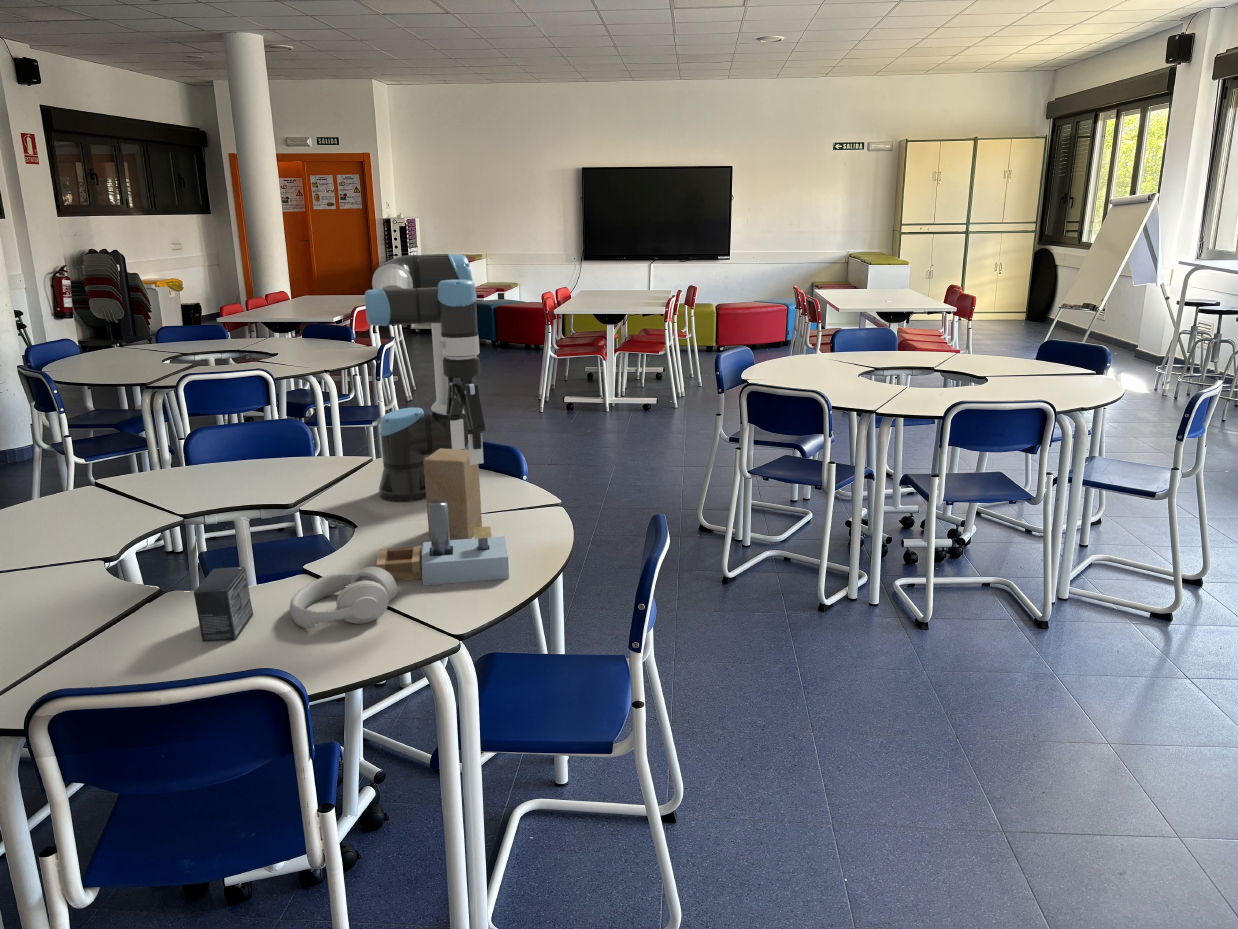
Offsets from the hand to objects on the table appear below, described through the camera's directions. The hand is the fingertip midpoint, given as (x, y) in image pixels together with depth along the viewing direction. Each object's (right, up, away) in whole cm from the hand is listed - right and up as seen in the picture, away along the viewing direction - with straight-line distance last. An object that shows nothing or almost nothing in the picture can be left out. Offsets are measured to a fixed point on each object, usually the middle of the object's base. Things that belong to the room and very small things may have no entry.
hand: (467, 456), depth 184 cm
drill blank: (-6, -25, +5) cm, 26 cm away
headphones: (-22, -31, -13) cm, 40 cm away
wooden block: (-7, -19, +27) cm, 34 cm away
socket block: (-1, -25, +6) cm, 26 cm away
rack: (-15, -25, +5) cm, 30 cm away
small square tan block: (+3, -21, +5) cm, 22 cm away
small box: (-42, -33, -19) cm, 57 cm away
